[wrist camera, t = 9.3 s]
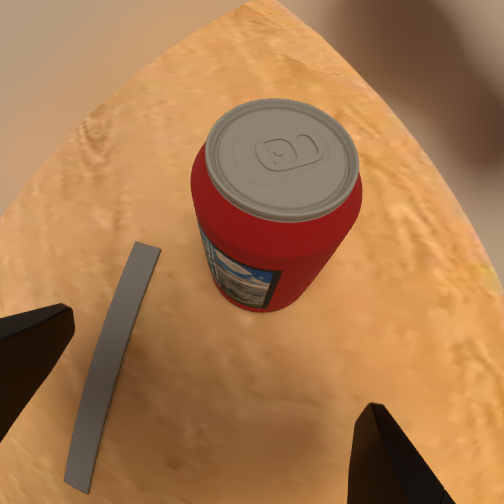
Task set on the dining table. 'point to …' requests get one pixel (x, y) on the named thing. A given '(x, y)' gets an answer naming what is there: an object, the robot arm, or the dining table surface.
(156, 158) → the dining table surface
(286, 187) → the beverage can
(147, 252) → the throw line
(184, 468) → the dining table surface
